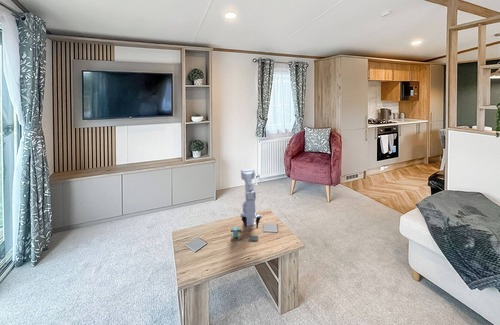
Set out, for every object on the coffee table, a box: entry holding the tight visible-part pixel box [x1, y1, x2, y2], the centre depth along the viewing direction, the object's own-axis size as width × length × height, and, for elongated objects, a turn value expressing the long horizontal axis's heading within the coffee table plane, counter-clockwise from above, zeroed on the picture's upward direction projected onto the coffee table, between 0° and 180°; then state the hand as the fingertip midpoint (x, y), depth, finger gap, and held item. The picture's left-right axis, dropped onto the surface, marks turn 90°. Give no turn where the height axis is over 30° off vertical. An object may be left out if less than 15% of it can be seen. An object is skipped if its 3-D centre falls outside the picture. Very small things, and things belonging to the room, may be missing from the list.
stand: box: [230, 228, 242, 241], centre depth 182 cm, size 5×7×7 cm
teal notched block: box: [232, 225, 240, 237], centre depth 182 cm, size 5×3×5 cm, turn 177°
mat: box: [248, 235, 259, 242], centre depth 182 cm, size 6×6×1 cm
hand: (251, 227), depth 177 cm, fingers open, 7 cm apart
